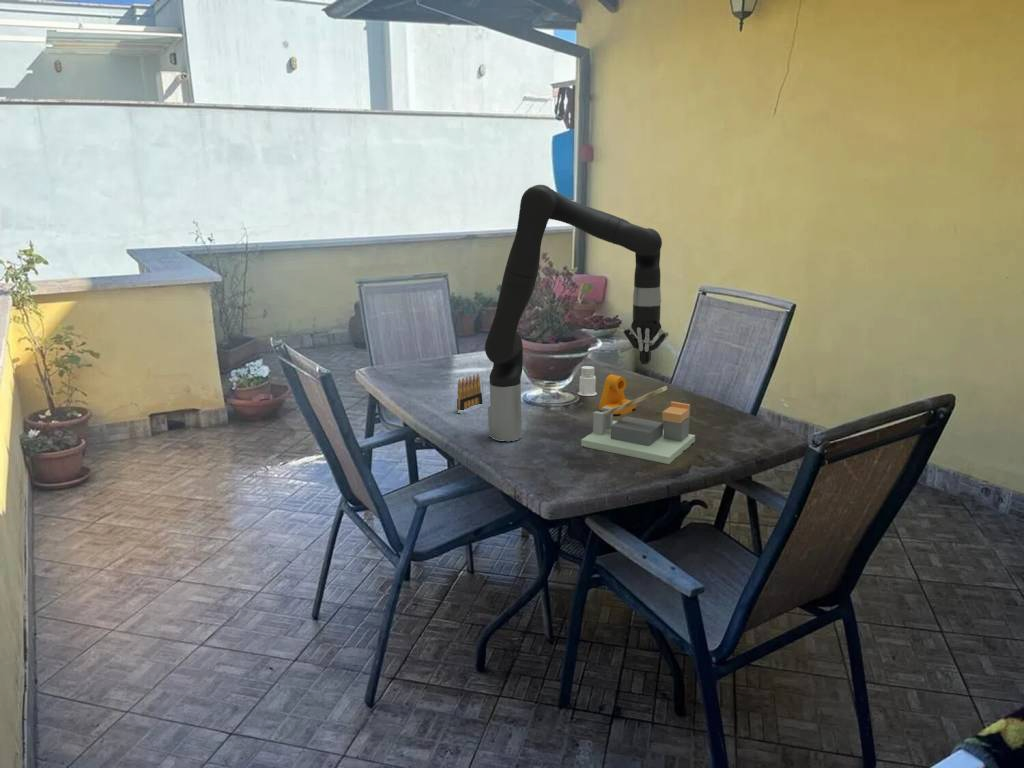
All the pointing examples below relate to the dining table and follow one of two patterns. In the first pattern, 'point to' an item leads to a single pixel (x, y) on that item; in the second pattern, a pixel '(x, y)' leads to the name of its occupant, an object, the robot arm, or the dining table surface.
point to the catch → (676, 412)
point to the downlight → (587, 381)
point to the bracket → (615, 394)
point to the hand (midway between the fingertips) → (645, 363)
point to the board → (638, 450)
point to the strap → (635, 401)
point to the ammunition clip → (469, 393)
